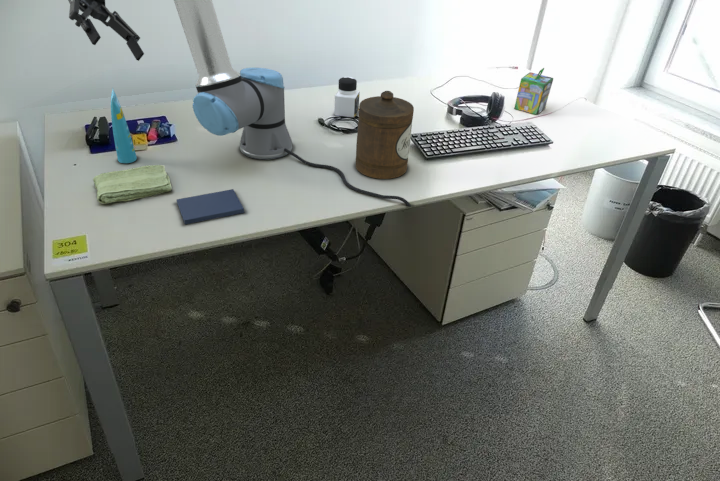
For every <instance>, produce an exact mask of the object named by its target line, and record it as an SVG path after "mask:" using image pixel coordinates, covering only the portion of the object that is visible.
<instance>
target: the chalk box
mask: <svg viewBox="0 0 720 481" xmlns="http://www.w3.org/2000/svg"><path fill="white" fill-rule="evenodd" d="M544 70H545V67H543V68H541V69H540V70H539V72H538V73H534V72H531V71H529V72H528V73H527V74H525V75H524V76H523V77H521V79H520V82H519V87H518V91H517V95H516V99H515V104H514V107H513V109H514V110H518V111H521V112H525V113H528V114H531V115H536V116H538V115H539V114H540V113H542V111H544V110H545V109H546V107H547V103H548V99H549V95H550V92H551V89H552V85H553V82H554V77H552V76H551V77H550V76H547V75H543V72H544Z"/></svg>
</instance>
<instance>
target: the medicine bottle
mask: <svg viewBox="0 0 720 481" xmlns="http://www.w3.org/2000/svg"><path fill="white" fill-rule="evenodd" d="M357 83H358V81H357V79H356V78H354V77H352V76H343V77H340V78H339V79H338V90H337V92H336V93H335V94H334V110H333V111H334V116H337V117H345V118H352V119H355V117H356V116H357V114H358V113H359V105H360V90H357V87H358V85H357Z"/></svg>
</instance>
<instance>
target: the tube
mask: <svg viewBox="0 0 720 481" xmlns="http://www.w3.org/2000/svg"><path fill="white" fill-rule="evenodd" d="M111 90H112V91H111V94H110V119H111V126H112V134H113V135H112V136H113V141H114V146H115V152H116V157H117V161H118V162H119V163H121V164H132V163H134V162H136V161H137V159H138V157H137V153H136V150H135V146H134V142H133V139H132V136H131V132H130V128H129V126H128V123H127V120H126V118H125V114H124V111H123V108H122V106H121V103H120V101H119V99H118V95H117V94H116V92H115V90H114V87H111Z"/></svg>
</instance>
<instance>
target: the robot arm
mask: <svg viewBox="0 0 720 481" xmlns="http://www.w3.org/2000/svg"><path fill="white" fill-rule="evenodd" d="M67 1H68V3H69V12H68V18H69V19H70V20H71V21H75V23H74V25H75V26H76V27H77V28H80V27H81V29H82V30H83V31H84V32H85V34H86V36H87V38H88V39H89V41H90V43H91V44H92V45H94V46H96V45H97V44H98V42H99V41H100V39H101V38H102V37H101V35H100V34H99V31H98V30H97V28H96V27H95V25H94V24H93V22H92V20H91V19H90V18H89V17H91V18H92V19H95V20H98V21H100V22H101V23H102V24H103V25H105V27H109V28H111V29H112V30H113V31H114V32H115V33H116V34H117V35H119V36H120V37H121V38H122V39H123V40H124V41H125V42H126V45H127V47H128V49H129V50H130V51H131V54H132V55H133V57H134V58H135V60H136V61H137V62H140V60H141V59H142V57H143V56H144V55H145V52H144V51H143V49H142V48H141V46H140V45H139V44H140V43H139V41H140V40H141V37H140V36H139V34H137V32H136V31H135V30H133V28H132V27H131V26H130V25H129V24H128V23H127V22H126V21H125V20H124V19H123V18H122V17H121V15H120V14H119V13H118V12H117V11H116V10H114V11H113V12H111V11H110V10H109V9H108V8H107V6H106V0H67ZM173 2H174V6H175V8H176V12H177V15H178V17H179V20H180V24H181V28H182V29H183V33H184V36H185V39H186V42H187V45H188V48H189V51H190V53H191V57H192V60H193V63H194V66H195V69H196V72H197V75H198V78H197V80H196V83H195V88H196V92H197V93H196V94H195V96H194V97H193V100H192V102H193V103H192V110H193V113H194V116H195V117H196V119H197V122H199V124H200V125H201V127H202V128H204V130H206V131H207V132H209V133H210V134H211V135H214V136H219V137H221V136H222V137H223V136H226V135H229V134H234V133H236V132H237V131H239V130H241V129H242V132H241V136H240V140H239V141H240V142H239V150H240V152H241V154H243V155H244V156H246V157H248V158H251V159H254V160H264V161H265V160H266V161H267V160H276V159H280V158H283V157H285V156H288V155H290V156H292V157H294V158H296V159H297V160H298V161H299V162H301V163H303V164H304V165H306V166H307V165H308V166H309V167H314V168H321V169H322V168H323V169H329V170H332V171H335V172H337V174H339V175H340V177H341V180H342V182H343V183H344V185H345V186H346V187H347V188H349V189H351V190H353V191H355V192H358V193H361V194H364V195H368V196H372V197H376V198H378V199H385V200H398V201H400V202H402V203H404V204H405V205H406V206H407V207H408V208H410V207H412V205H411V203H410V202H409V201H408V200H407V199H406V198H404V197H402V196H399V195H385V194H380V193H376V192H372V191H368V190H366V189H361V188H358V187H356V186H354V185H352V184H351V183H349V181H347V179H346V176H345V174H344V173H343V171H342V170H340V169H339V168H338V167H335V166H333V165H328V164H319V163H314V162H311V161H307V160H306V159H304V158H302V157H301V156H299V155H298V154H296V153H294V152H293V151H292V150H293V140H292V137H291V135H290V131H289V129H288V127H287V124H286V110H285V109H286V107H285V106H286V105H285V85H284V84H285V83H284V77H283V75H282V74H281V73H280V72H279V71H277V70H274V69H270V68H265V67H245V68H241V70H240V71H239V72H238V71H237V70H235V69H234V68H233V66H232V63H231V60H230V56H229V53H228V49H227V46H226V43H225V38H224V36H223V33H222V29H221V26H220V23H219V19H218V15H217V13H216V8H215V6H214V3H213V0H173ZM80 12H82V13H81V14H80ZM107 20H108V21H107Z"/></svg>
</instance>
